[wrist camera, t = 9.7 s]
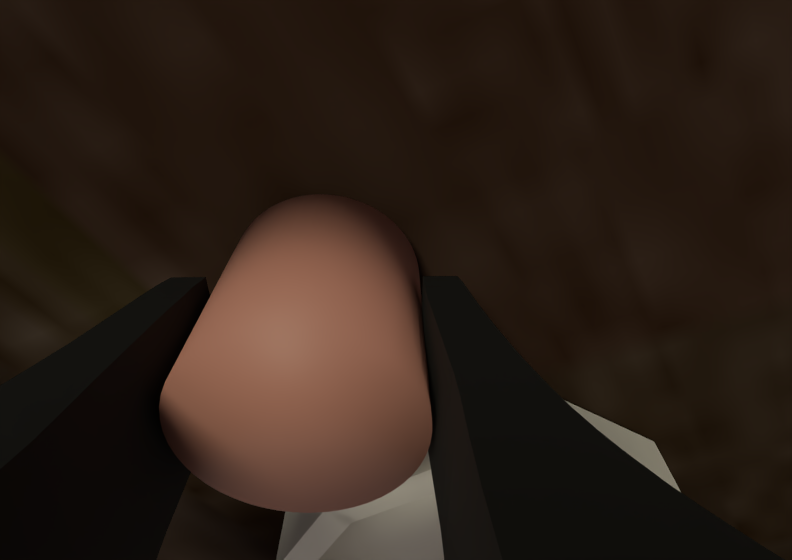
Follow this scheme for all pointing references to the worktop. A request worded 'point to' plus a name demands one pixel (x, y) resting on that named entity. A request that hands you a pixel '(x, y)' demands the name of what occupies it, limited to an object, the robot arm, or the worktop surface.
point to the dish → (414, 513)
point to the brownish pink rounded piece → (306, 363)
